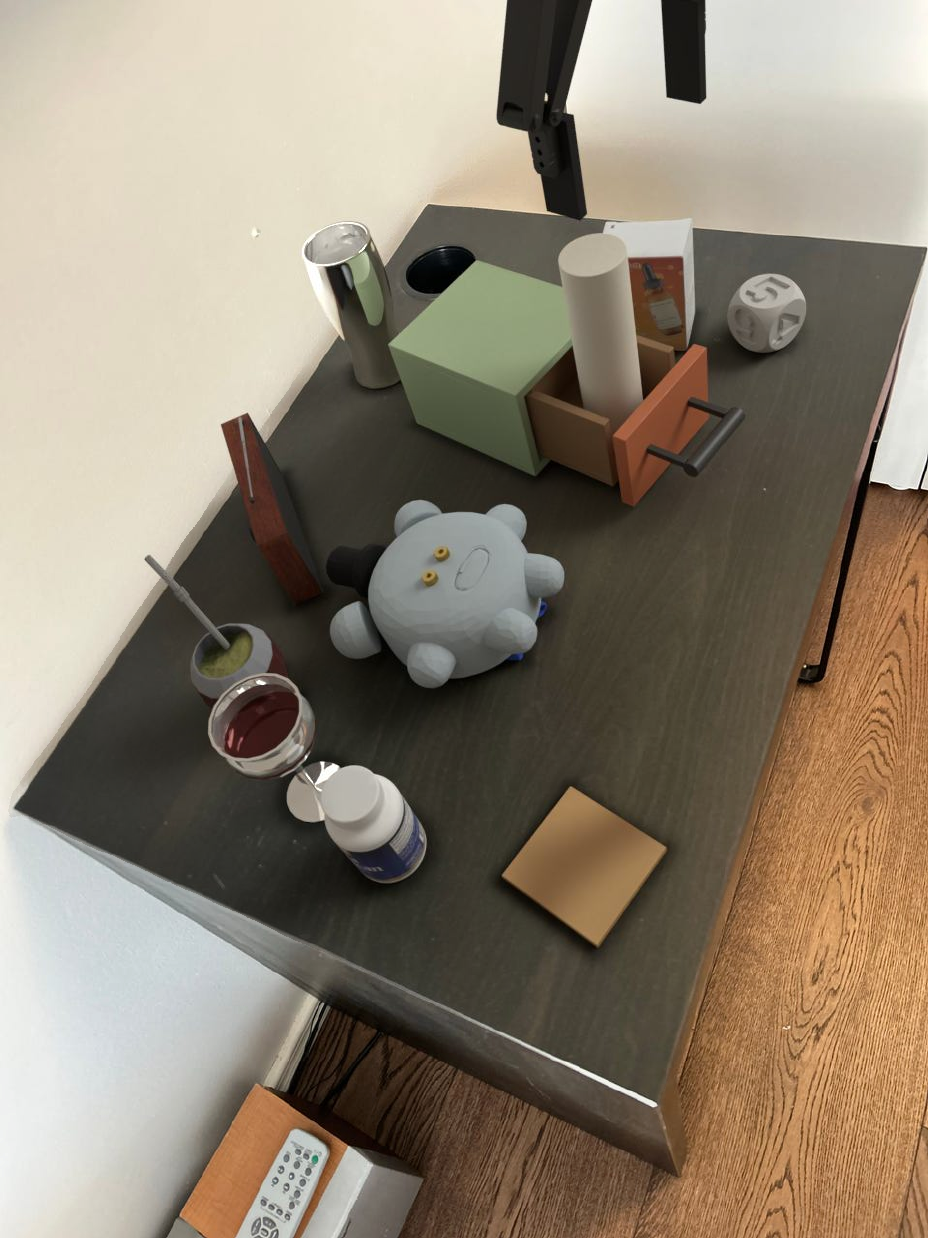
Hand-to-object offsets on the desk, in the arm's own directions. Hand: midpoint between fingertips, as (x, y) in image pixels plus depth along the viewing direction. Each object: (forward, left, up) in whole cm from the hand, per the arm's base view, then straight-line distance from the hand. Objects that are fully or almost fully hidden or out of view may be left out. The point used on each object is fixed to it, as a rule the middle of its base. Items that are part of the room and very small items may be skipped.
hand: (628, 153), depth 64 cm
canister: (+3, +2, -25) cm, 25 cm away
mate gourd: (+13, +39, -27) cm, 49 cm away
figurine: (+5, +24, -27) cm, 37 cm away
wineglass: (+3, +42, -27) cm, 50 cm away
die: (-1, -16, -27) cm, 32 cm away
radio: (+23, +26, -27) cm, 44 cm away
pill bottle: (-5, +42, -27) cm, 50 cm away
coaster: (-17, +35, -27) cm, 48 cm away
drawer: (+1, +2, -26) cm, 26 cm away
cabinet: (+15, +2, -27) cm, 31 cm away
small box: (+9, -12, -27) cm, 31 cm away
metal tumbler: (+31, +4, -27) cm, 41 cm away
